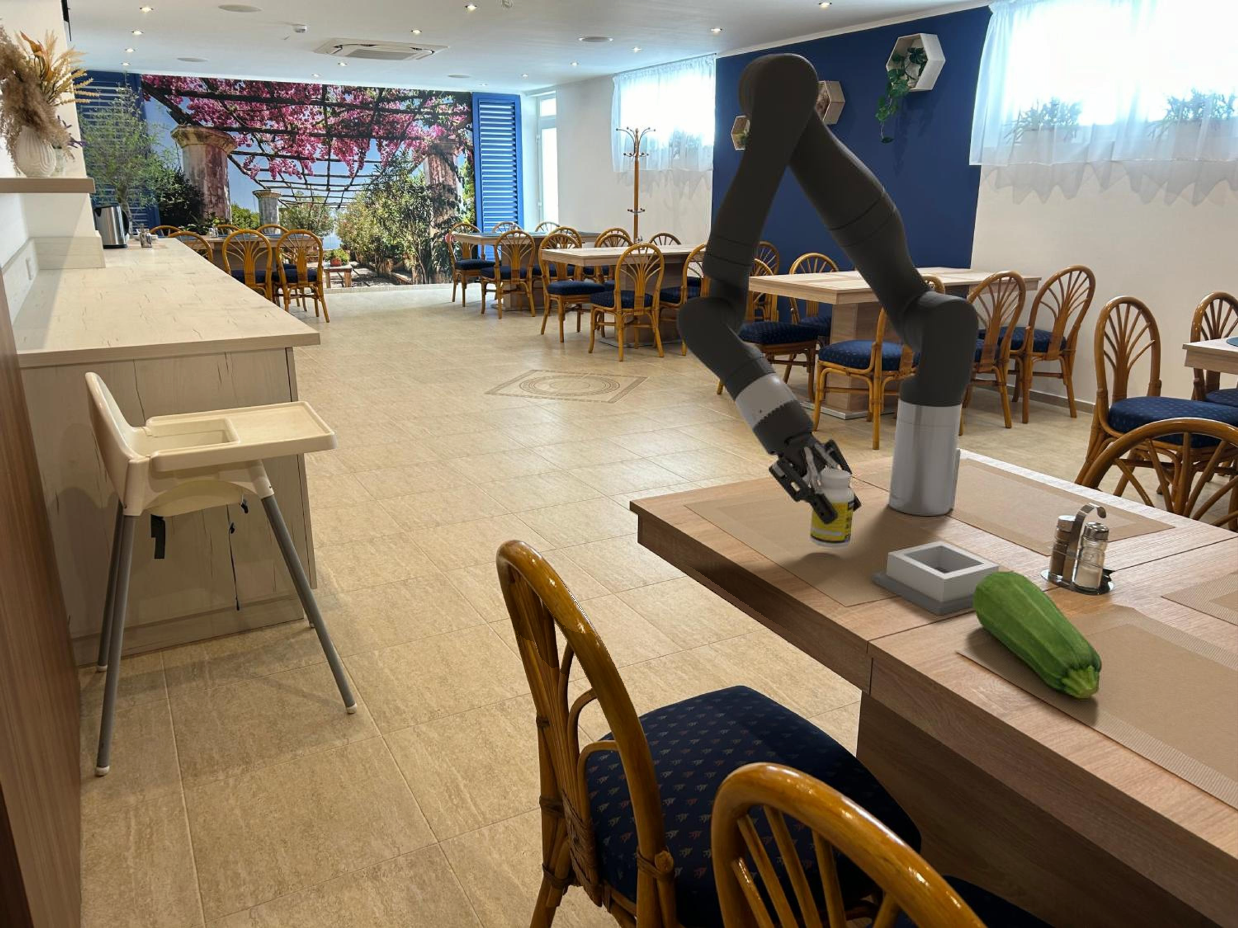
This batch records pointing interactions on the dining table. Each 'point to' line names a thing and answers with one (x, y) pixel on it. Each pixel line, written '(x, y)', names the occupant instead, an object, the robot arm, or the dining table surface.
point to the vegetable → (1037, 632)
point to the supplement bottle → (842, 502)
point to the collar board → (935, 576)
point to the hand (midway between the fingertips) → (844, 515)
